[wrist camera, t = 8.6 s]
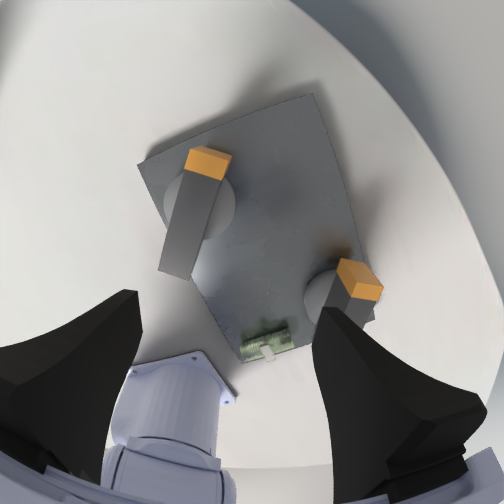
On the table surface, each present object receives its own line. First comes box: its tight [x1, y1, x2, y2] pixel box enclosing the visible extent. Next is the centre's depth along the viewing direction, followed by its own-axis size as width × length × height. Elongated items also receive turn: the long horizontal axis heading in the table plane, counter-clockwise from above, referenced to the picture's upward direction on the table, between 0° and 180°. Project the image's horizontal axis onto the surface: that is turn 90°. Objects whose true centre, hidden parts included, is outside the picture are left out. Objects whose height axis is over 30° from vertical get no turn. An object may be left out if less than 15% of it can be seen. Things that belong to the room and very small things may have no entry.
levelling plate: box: [137, 94, 375, 364], centre depth 19 cm, size 12×18×3 cm, turn 21°
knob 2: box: [304, 258, 384, 342], centre depth 19 cm, size 7×4×4 cm, turn 167°
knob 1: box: [158, 146, 236, 281], centre depth 16 cm, size 7×4×4 cm, turn 160°
